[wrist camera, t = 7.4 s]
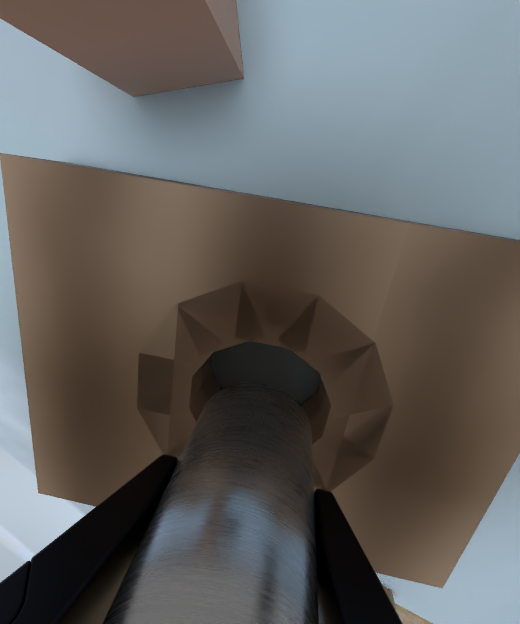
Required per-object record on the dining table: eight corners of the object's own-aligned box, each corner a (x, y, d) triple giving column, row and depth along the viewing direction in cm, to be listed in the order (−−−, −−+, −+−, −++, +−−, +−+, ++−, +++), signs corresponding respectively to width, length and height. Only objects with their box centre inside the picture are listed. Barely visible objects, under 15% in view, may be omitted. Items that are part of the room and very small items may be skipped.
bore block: (548, 245, 11) (628, 261, 9) (418, 520, 16) (442, 588, 14) (67, 162, 12) (-1, 152, 10) (80, 445, 17) (38, 492, 15)
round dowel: (323, 396, 10) (397, 1123, 2) (299, 486, 11) (290, 1134, 3) (205, 372, 10) (-114, 949, 2) (194, 462, 11) (-32, 1024, 4)
